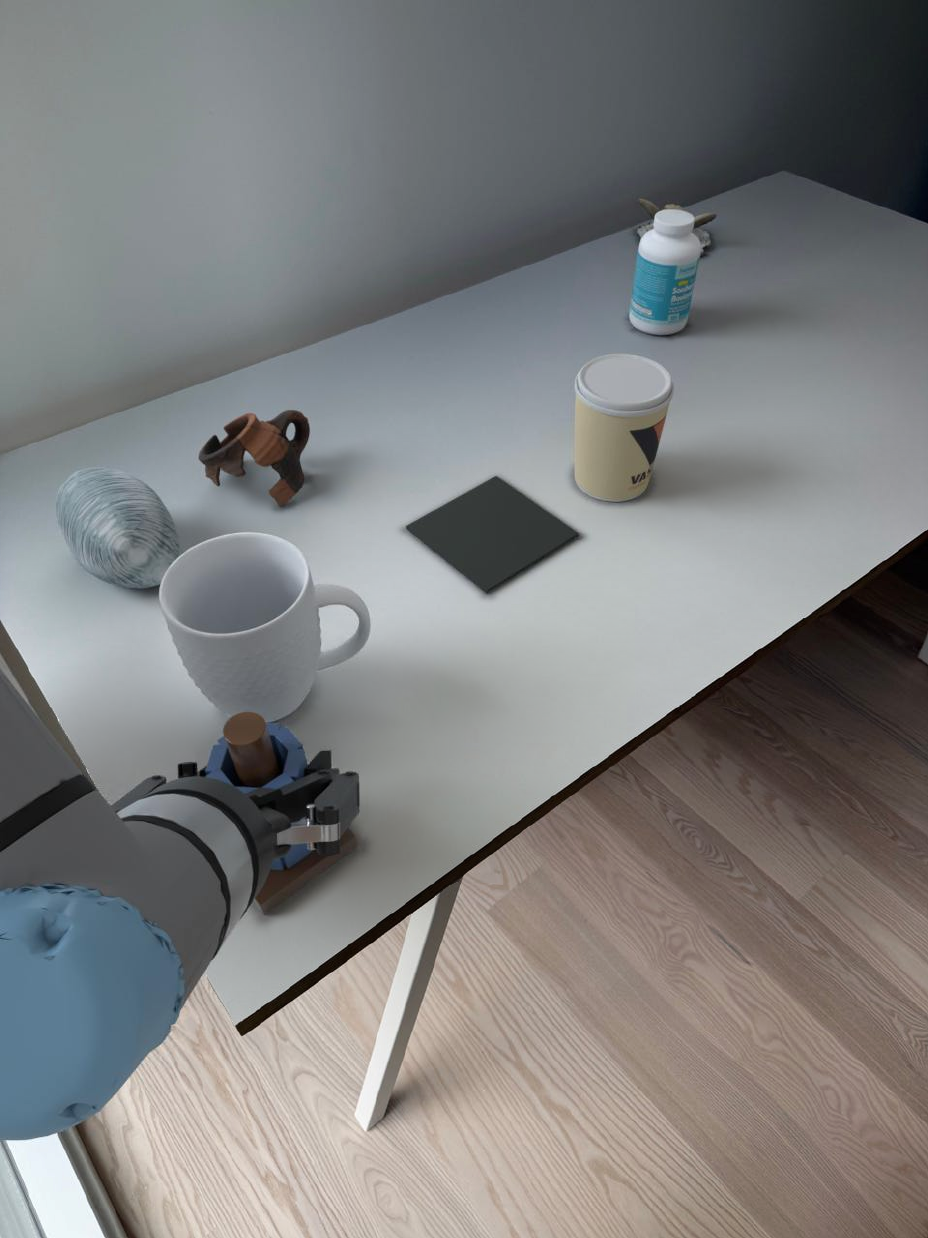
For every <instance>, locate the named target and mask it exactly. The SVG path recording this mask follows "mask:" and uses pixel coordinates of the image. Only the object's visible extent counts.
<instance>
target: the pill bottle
mask: <svg viewBox="0 0 928 1238" xmlns="http://www.w3.org/2000/svg"><path fill="white" fill-rule="evenodd" d="M661 210H662V211H661ZM661 210H660V211H659V212H658V213H656V215H655V218H654V220H653V222H652V223H653V227H654V229H652V230H650V231H648V232H647V233H646V234H644V235H643V237H642V238H640V239H641V240H640V241H639V243H638V249H637V256H636V264H635V269H634V277H633V285H632V292H631V299H630V307H629V313H628V314H629V315H628V317H629V321H630V323H631V325H632V326H633V327H635V329H637V330H638V331H640V332H642V333H645V334H649V335H653V336H668V335H674V334H676V333H678V332H680V331H682V330H683V329H684V328H685V327H686V325H687V323H688V321H689V314H690V310H691V309H690V308H691V304H692V298H693V294H694V288H695V284H696V277H697V273H698V268H699V263H700V257H701V256H700V252H701V244H700V241H699V239H698V238H697V236H696V235H695V234H693V233H692V230H693V228H694V221H695V218H694V217H695V216H694V214H692V213H690V212H688V211H686V210H685V211H682V210H675V209H668V210H663V209H661Z"/></svg>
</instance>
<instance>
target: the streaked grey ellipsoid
mask: <svg viewBox="0 0 928 1238" xmlns="http://www.w3.org/2000/svg"><path fill="white" fill-rule="evenodd" d="M55 497H56V498H55V499H56V500H55V513H56V522H57V525H58V527H59V530H60V533H61V535H62V538H63V540H64V541H65V543H66V546H67V547H68V550H69V551H70V552H71V554H72V556H73V557H74V558H75V560H76V561H77V563H78V564H79V565H80V566H81V567H82V568H83V569H84V570H85V571H86V572H87V573H89V574H90V575H92V576H93V577H95V578H97V579H98V580H100V581H102V582H104V583H108V584H111V585H113V586H116V587H120V588H121V587H122V588H131V589H148V588H153V587H158V586H160V584H161V581H162V579H163V577H164V575H165V573H166V571H167V570H168V568H169V567H170V565H171V564H172V563H173V562H174V561H175V560H176V559H177V558H178V557H179V556H180V555H181V547H180V540H179V533H178V530H177V528H176V525H175V523H174V520H173V518H172V516H171V513H170V511H169V509H168V508H167V506H166V505H165V503H164V502H163V500H162V499H161V497H160V496H159V495H158V493H157V492H156V491H155V490H154V489H153V488H151V486H150V485H148V484H147V483H145V482H144V481H143V480H142V479H139V478H137V477H136V476H134V475H132V474H130V473H127V472H125V471H122V470H119V469H116V468H112V467H101V466H100V467H98V466H91V467H86V468H83V469H79V470H77V471H74V472H73V473H72V474H71V475H70V476H69V477H68V478H67V479H66V480H65V481H64V482H63V483H62V484H61V485H60V486H59V489H58V491H57V493H56V496H55Z"/></svg>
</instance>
